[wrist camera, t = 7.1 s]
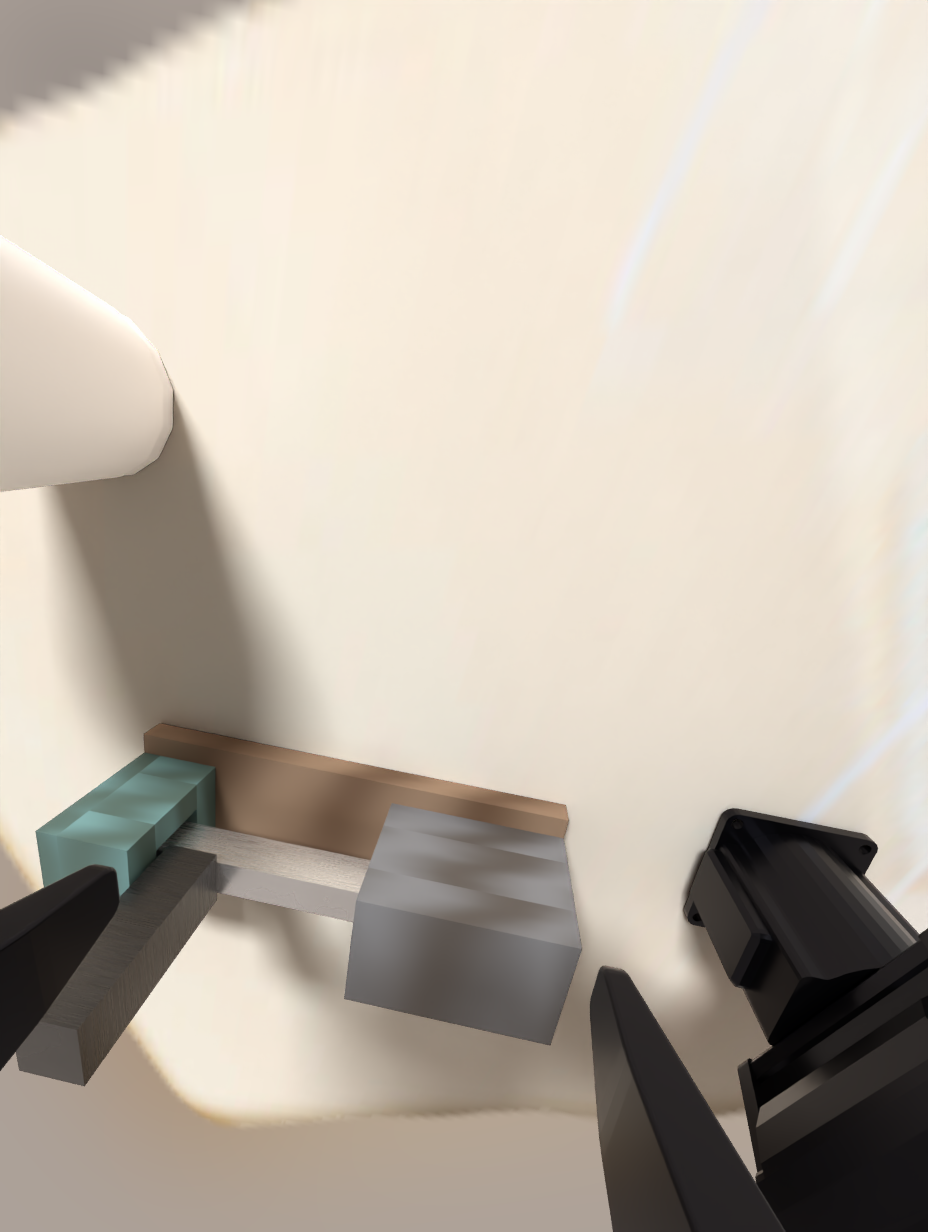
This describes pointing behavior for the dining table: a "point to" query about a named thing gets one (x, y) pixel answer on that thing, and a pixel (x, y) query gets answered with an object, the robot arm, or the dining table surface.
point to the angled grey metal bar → (176, 933)
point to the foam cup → (73, 382)
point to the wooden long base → (395, 879)
